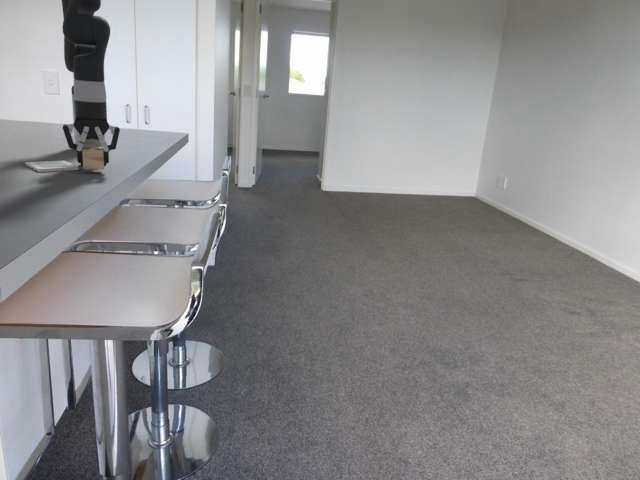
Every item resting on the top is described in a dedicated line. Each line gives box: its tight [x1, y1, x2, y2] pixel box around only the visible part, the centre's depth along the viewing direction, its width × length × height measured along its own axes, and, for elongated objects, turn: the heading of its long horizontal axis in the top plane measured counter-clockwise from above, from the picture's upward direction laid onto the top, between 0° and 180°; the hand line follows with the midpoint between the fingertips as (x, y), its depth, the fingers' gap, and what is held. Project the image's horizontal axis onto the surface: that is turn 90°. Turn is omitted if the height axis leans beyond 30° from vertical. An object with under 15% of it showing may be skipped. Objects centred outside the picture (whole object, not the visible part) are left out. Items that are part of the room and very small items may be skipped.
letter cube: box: [82, 147, 105, 170], centre depth 133 cm, size 5×5×5 cm
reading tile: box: [25, 160, 80, 173], centre depth 135 cm, size 10×10×1 cm
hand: (93, 164), depth 134 cm, fingers closed on letter cube, 5 cm apart
